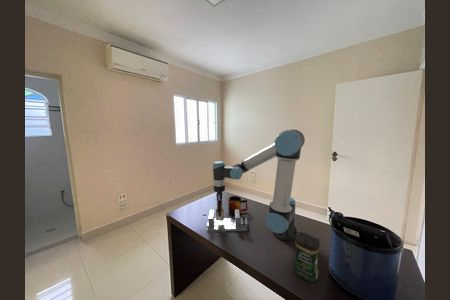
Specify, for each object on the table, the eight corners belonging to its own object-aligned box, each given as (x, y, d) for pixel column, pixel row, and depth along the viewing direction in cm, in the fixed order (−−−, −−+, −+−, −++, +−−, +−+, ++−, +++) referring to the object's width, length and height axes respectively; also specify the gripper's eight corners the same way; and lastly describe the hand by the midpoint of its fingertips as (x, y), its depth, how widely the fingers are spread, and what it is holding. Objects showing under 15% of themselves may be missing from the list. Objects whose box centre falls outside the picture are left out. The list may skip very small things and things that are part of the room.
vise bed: (245, 219, 124) (245, 208, 122) (247, 230, 111) (247, 218, 110) (209, 220, 124) (208, 209, 123) (207, 231, 111) (206, 219, 110)
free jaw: (246, 218, 122) (246, 207, 121) (248, 228, 111) (247, 216, 110) (234, 218, 123) (234, 208, 122) (235, 228, 111) (235, 216, 110)
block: (223, 214, 120) (223, 204, 119) (223, 220, 113) (223, 209, 112) (216, 215, 120) (216, 204, 119) (216, 220, 114) (215, 209, 112)
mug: (247, 212, 135) (247, 197, 133) (234, 218, 127) (233, 202, 125) (239, 207, 142) (239, 193, 141) (226, 213, 134) (225, 198, 133)
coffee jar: (291, 273, 79) (292, 235, 76) (298, 262, 84) (299, 227, 82) (314, 286, 72) (316, 246, 69) (320, 274, 78) (322, 236, 75)
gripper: (214, 180, 123) (215, 210, 127) (212, 190, 104) (213, 225, 107) (225, 179, 123) (225, 209, 127) (224, 190, 104) (225, 225, 107)
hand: (220, 217), depth 117 cm, fingers closed on block, 7 cm apart
